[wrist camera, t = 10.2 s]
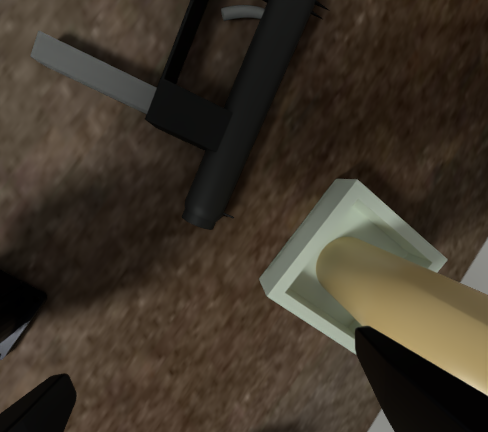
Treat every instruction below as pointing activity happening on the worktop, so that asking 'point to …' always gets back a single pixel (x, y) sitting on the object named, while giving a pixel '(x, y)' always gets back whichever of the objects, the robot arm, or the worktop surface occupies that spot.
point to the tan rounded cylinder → (410, 306)
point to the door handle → (193, 106)
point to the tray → (325, 231)
